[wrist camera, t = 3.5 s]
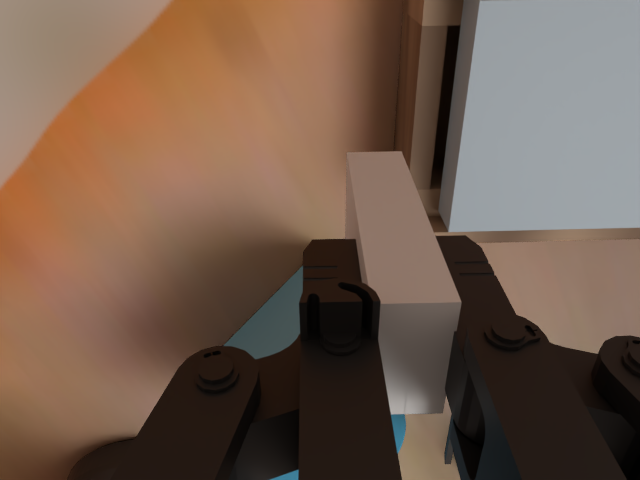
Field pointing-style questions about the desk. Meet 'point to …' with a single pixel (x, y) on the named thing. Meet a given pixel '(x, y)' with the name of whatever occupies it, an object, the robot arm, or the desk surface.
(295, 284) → the data package
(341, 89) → the desk surface
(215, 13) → the desk surface
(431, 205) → the pencil box
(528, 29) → the cover plate
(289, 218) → the desk surface
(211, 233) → the desk surface
